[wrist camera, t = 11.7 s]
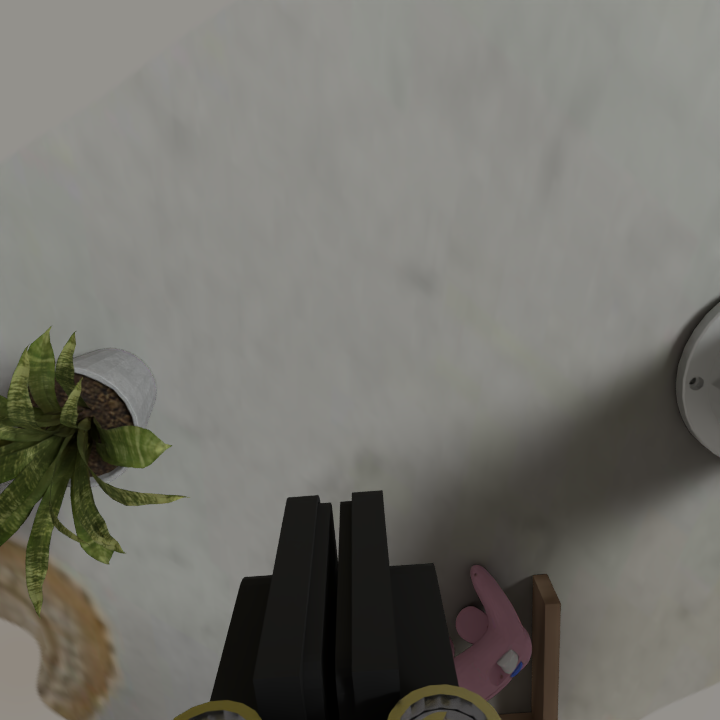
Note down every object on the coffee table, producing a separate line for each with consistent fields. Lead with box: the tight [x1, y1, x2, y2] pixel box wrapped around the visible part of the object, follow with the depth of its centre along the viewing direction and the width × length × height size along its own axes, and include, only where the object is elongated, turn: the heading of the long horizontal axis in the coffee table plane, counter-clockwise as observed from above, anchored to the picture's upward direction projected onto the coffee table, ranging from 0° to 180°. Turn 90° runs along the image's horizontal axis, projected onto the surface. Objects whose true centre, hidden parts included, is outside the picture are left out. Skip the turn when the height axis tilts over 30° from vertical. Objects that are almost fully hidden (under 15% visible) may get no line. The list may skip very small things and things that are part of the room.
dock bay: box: [499, 574, 561, 720], centre depth 44 cm, size 16×14×3 cm
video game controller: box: [449, 565, 532, 701], centre depth 42 cm, size 10×5×7 cm, turn 129°
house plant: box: [0, 327, 190, 617], centre depth 31 cm, size 14×14×16 cm
